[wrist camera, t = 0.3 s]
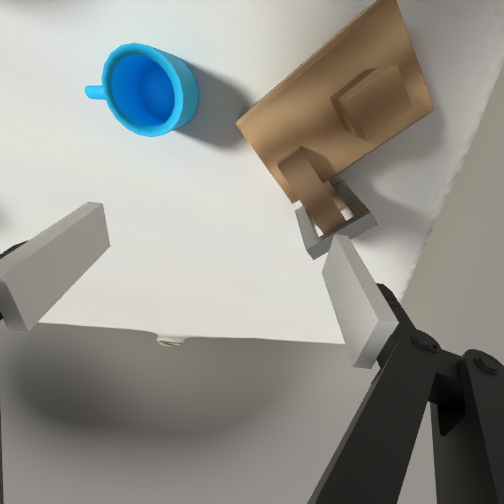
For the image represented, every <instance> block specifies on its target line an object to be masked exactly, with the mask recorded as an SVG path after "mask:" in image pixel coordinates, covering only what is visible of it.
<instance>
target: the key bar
mask: <svg viewBox="0 0 504 504" xmlns="http://www.w3.org/2000/svg"><path fill="white" fill-rule="evenodd" d="M277 165H278V169H279V170H280V171H281V173H282V174H283V176H284V177H285V179H286V180H287V182H288V183H289V185H290V186H291V187H292V189H293V190H294V192H295V193H296V195H297V196H298V198H299V199H300V200H301V202H302V203H303V205H304V206H305V208H306V209H307V211H308V212H309V214H310V215H311V216H312V218H313V219H314V221H315V222H316V224H317V225H318V227H319V228H320V229H321V231H322V232H323V234H325V233H327V232H329V231H330V230H332V229H334V228H336V227H337V226H339V225H341V224H342V223H344V222H346V220H345V218H344V217H343V215H342V213H341V212H340V210H339V209H338V207H337V205H336V204H335V202H334V201H333V199H332V197H331V196H330V194H329V193H328V191H327V189H326V188H325V186H324V184H323V183H322V181H321V180H320V178H319V176H318V175H317V173H316V172H315V170H314V168H313V167H312V165H311V164H310V162H309V160H308V159H307V157H306V156H305V154H304V152H303V151H302V149H301V148H300V146H299V145H298V146H297V147H296V148H294V149H293V150H292V151H290V152H289V153H287V154H286V155H285V156H283V157H282V158H281V159H279V160H278V161H277Z"/></svg>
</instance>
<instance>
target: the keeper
mask: <svg viewBox="0 0 504 504" xmlns="http://www.w3.org/2000/svg"><path fill="white" fill-rule="evenodd" d="M333 188H334V190H335V191H336V193H337V194H338V196H339V198H340V199H341V201H342V202H343V203H344V205H345V206H346V207H347V209H348V210H349V212H350V213H351V214H352V216H353V217H352V218H351V219H349V220H347V221H346V222H344V223H342V224H341V225H339V226H337V227H336V228H334V229H332V230H330V231H329V232H327V233H325V234H324V235H322V236H320V237H318V234H317V232H316V229H315V226H314V224H313V221H312V219H311V216H310V215H309V214H308V212H307V211H306V209H305V208H304V206H302V207H300V208H299V209H297V210H296V211H295V213H296V217H297V220H298V224H299V227H300V231H301V234H302V238H303V241H304V245H305V248H306V251H307V252H308V253H309V255H310V256H311V257H312V259H313V260H314V259H316V258H318V257H320V256H321V255H323V254H325V253H327V252H329V250H330V247H331V244H332V241H333V238H334V235H335V234H337V235H344V236H348V237H349V239H352V238H354V237H355V236H357V235H359V234H361V233H362V232H364V231H366V230H368V229H370V228H371V227H373V226H375V225H377V223H376V221H375V219H374V217H373V215H372V214H371V212H370V211H369V210H368V209H367V208H366V206H365V205H364V204H363V203H362V202H361V201H360V200H359V199H358V197H357V196H356V195H355V194H354V193H353V192H352V191H351V190H350V188H349V187H348V186H347V185H346V184H345V183H344V182H343V181H340V182H339V183H337V184H336V185H334V186H333Z"/></svg>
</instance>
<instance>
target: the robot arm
mask: <svg viewBox="0 0 504 504" xmlns="http://www.w3.org/2000/svg"><path fill="white" fill-rule="evenodd" d="M109 247H110V242H109V236H108V231H107V225H106V219H105V214H104V208H103V204H102V203H95V202H87V203H86V204H84V205H83V206H81V207H80V208H78V209H77V210H75V211H74V212H72V213H70V214H69V215H67V216H66V217H64V218H63V219H61V220H60V221H58V222H57V223H55V224H54V225H52V226H51V227H49V228H48V229H46V230H44V231H43V232H41V233H40V234H38V235H37V236H35V237H34V238H32V239H31V240H29V241H25V242H22V243H20V244H17V245H14V246H12V247H11V248H9V249H8V250H6V251H4V252H3V254H0V320H1V319H3V320H4V322H5V324H6V326H7V328H8V329H11V330H20V331H29V330H30V329H31V328H32V327H33V326H34V325H35V324H36V323H37V322H38V321H39V320H40V319H41V318H42V317H43V316H44V315H45V314H46V312H47V311H48V310H49V309H50V308H51V307H52V306H53V305H54V304H55V303H56V302H57V301H58V300H59V299H60V298H61V297H62V296H63V295H64V294H65V293H66V292H67V291H68V290H69V289H70V287H71V286H72V285H73V284H74V283H75V282H76V281H77V280H78V279H79V278H80V277H81V276H82V275H83V274H84V273H85V272H86V271H87V270H88V269H89V268H90V267H91V266H92V265H93V264H94V262H95V261H96V260H97V259H98V258H99V257H100V256H101V255H102V254H103V253H104V252H105V251H106V250H107V249H108V248H109ZM322 275H323V278H324V281H325V284H326V287H327V290H328V293H329V296H330V299H331V302H332V305H333V308H334V311H335V314H336V317H337V320H338V323H339V326H340V329H341V332H342V335H343V338H344V341H345V344H346V346H347V350H348V353H349V356H350V359H351V362H352V365H353V367H358V368H367V369H371V368H372V366H373V365H374V363H375V361H376V360H377V361H378V364H379V366H380V370H379V372H378V373H377V375H376V376H375V378H374V380H373V381H372V383H371V386H370V388H369V390H368V392H367V394H366V395H365V397H364V399H363V401H362V403H361V405H360V407H359V409H358V411H357V412H356V414H355V416H354V418H353V420H352V421H351V423H350V425H349V427H348V429H347V431H346V433H345V435H344V437H343V438H342V440H341V442H340V444H339V446H338V448H337V449H336V452H335V453H334V455H333V457H332V459H331V460H330V462H329V464H328V466H327V468H326V470H325V472H324V474H323V475H322V477H321V479H320V481H319V483H318V485H317V487H316V488H315V490H314V492H313V494H312V496H311V498H310V499H309V501H308V503H307V504H397V501H398V497H399V494H400V490H401V487H402V484H403V481H404V477H405V474H406V471H407V467H408V464H409V461H410V458H411V454H412V451H413V447H414V444H415V441H416V438H417V434H418V431H419V428H420V424H421V421H422V418H423V414H424V411H425V408H426V404H427V401H429V402H430V408H431V423H432V437H433V451H434V466H435V480H436V495H437V504H504V366H503V365H502V364H501V363H500V362H499V361H498V360H496V359H495V358H494V357H492V356H490V355H488V354H486V353H484V352H482V351H478V350H475V349H469V350H467V351H466V352H465V353H464V354H463V355H462V356H459V355H456V354H453V353H450V352H448V351H445V350H442V349H441V347H440V346H439V344H438V343H437V342H436V341H435V340H434V339H433V338H432V337H431V336H429V335H428V334H426V333H425V332H422V331H420V330H417V329H416V328H415V327H414V325H413V323H412V322H411V320H410V319H409V317H408V316H407V314H406V313H405V311H404V310H403V308H401V305H400V303H399V302H398V301H397V299H396V297H395V296H394V294H393V293H392V291H391V290H389V289H388V288H387V287H386V286H385V285H384V284H378V283H375V281H374V280H373V278H372V276H371V274H370V273H369V271H368V269H367V268H366V266H365V264H364V263H363V261H362V259H361V258H360V256H359V254H358V253H357V251H356V249H355V247H354V246H353V244H352V242H351V241H350V239H349V237H348V236H344V235H337V234H335V235H334V238H333V241H332V244H331V247H330V250H329V253H328V256H327V259H326V261H325V264H324V267H323V270H322ZM0 504H4V503H3V472H2V442H1V413H0Z"/></svg>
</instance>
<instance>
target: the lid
mask: <svg viewBox="0 0 504 504" xmlns="http://www.w3.org/2000/svg"><path fill="white" fill-rule="evenodd" d="M433 109H434V106H433V103H432V100H431V98H430V95H429V92H428V89H427V86H426V83H425V81H424V78H423V75H422V72H421V69H420V66H419V64H418V61H417V58H416V55H415V52H414V50H413V47H412V44H411V41H410V38H409V35H408V33H407V30H406V27H405V24H404V21H403V18H402V16H401V13H400V10H399V7H398V4H397V1H396V0H388V1H387V2H385V3H384V4H383V5H382V6H381V7H380V8H378V9H377V10H376V11H375V12H374V13H373V14H371V15H370V16H369V17H368V18H367V19H365V20H364V21H363V22H362V23H361V24H360V25H358V26H357V27H356V28H355V29H354V30H352V31H351V32H350V33H349V34H348V35H347V36H345V37H344V38H343V39H342V40H341V41H339V42H338V43H337V44H336V45H335V46H334V47H332V48H331V49H330V50H329V51H328V52H326V53H325V54H324V55H323V56H322V57H321V58H319V59H318V60H317V61H316V62H315V63H313V64H312V65H311V66H310V67H309V68H308V69H306V70H305V71H304V72H303V73H302V74H300V75H299V76H298V77H297V78H296V79H295V80H293V81H292V82H291V83H290V84H289V85H287V86H286V87H285V88H284V89H283V90H282V91H280V92H279V93H278V94H277V95H276V96H274V97H273V98H272V99H271V100H270V101H269V102H267V103H266V104H265V105H264V106H263V107H261V108H260V109H259V110H258V111H257V112H256V113H254V114H253V115H252V116H251V117H250V118H248V119H247V120H246V121H245V122H244V123H243V124H241V125H240V126H239V128H240V130H241V131H242V133H243V134H244V135H245V137H246V138H247V140H248V141H249V142H250V144H251V145H252V147H253V148H254V149H255V151H256V152H257V154H258V155H259V156H260V158H261V159H262V161H263V162H264V164H265V165H266V166H267V168H268V169H269V171H270V172H271V173H272V175H273V176H274V178H275V179H276V180H277V182H278V183H279V185H280V186H281V187H282V189H283V190H284V192H285V193H286V195H287V196H288V197H289V199H290V200H291V202H292V203H293V202H295V201H296V200H298V199H299V198H298V196H297V195H296V193H295V192H294V190H293V189H292V187H291V186H290V185H289V183H288V182H287V180H286V179H285V177H284V176H283V174H282V173H281V171H280V170H279V169H278V165H277V161H278V160H279V159H281V158H282V157H283V156H285V155H286V154H287V153H289V152H290V151H292V150H293V149H294V148H296V147H297V146H298V145H299V146H300V148H301V149H302V151H303V152H304V154H305V156H306V157H307V159H308V160H309V162H310V164H311V165H312V167H313V168H314V170H315V172H316V173H317V175H318V176H319V178H320V180H321V181H322V183H323V182H325V181H326V180H328V179H329V178H331V177H332V176H334V175H335V174H337V173H338V172H340V171H341V170H343V169H344V168H346V167H347V166H349V165H350V164H352V163H353V162H355V161H357V160H358V159H360V158H361V157H363V156H364V155H366V154H367V153H369V152H370V151H372V150H373V149H375V148H376V147H378V146H379V145H381V144H382V143H384V142H385V141H387V140H388V139H390V138H391V137H393V136H394V135H396V134H397V133H399V132H400V131H402V130H403V129H405V128H406V127H408V126H409V125H411V124H412V123H414V122H415V121H417V120H418V119H420V118H421V117H423V116H424V115H426V114H427V113H429V112H430V111H432V110H433Z"/></svg>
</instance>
